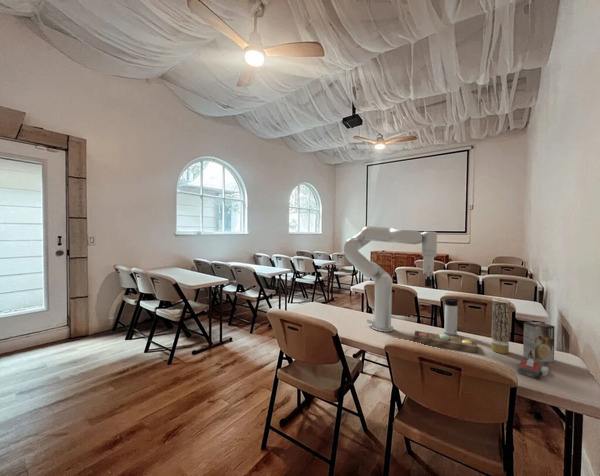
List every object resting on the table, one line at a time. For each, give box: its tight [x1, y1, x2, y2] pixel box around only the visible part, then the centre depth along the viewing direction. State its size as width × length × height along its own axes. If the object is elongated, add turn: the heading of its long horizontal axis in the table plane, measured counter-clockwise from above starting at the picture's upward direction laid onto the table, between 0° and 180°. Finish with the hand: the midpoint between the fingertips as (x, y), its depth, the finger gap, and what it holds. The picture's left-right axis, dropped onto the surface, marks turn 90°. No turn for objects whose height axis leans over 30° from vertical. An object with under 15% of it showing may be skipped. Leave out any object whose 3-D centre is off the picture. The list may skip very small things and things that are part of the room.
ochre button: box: [462, 340, 472, 344], centre depth 136 cm, size 4×4×3 cm
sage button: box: [439, 333, 449, 341], centre depth 140 cm, size 4×4×3 cm
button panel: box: [413, 330, 479, 354], centre depth 140 cm, size 28×10×3 cm, turn 64°
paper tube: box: [490, 297, 511, 355], centre depth 132 cm, size 7×7×25 cm
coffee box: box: [522, 321, 556, 363], centre depth 125 cm, size 9×6×16 cm
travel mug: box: [443, 298, 459, 337], centre depth 155 cm, size 6×7×20 cm
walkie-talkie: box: [517, 358, 550, 380], centre depth 114 cm, size 9×4×20 cm
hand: (428, 286), depth 153 cm, fingers closed
